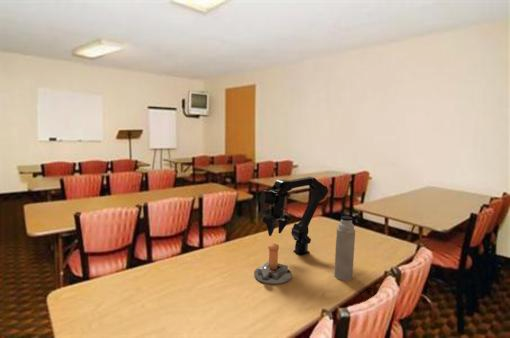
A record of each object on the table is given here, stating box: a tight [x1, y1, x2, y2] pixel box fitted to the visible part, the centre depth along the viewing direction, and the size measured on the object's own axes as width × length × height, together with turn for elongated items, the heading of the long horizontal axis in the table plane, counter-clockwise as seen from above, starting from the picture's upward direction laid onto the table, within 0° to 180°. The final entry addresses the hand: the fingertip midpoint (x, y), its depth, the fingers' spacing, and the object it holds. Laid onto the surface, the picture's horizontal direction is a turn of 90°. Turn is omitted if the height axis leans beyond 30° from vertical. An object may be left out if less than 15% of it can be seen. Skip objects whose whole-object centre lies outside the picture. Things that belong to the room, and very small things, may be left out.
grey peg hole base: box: [253, 260, 293, 286], centre depth 146 cm, size 17×17×6 cm
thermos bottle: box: [333, 215, 356, 282], centre depth 144 cm, size 8×8×28 cm
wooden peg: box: [267, 243, 280, 271], centre depth 145 cm, size 5×5×13 cm
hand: (274, 234), depth 163 cm, fingers open, 9 cm apart
